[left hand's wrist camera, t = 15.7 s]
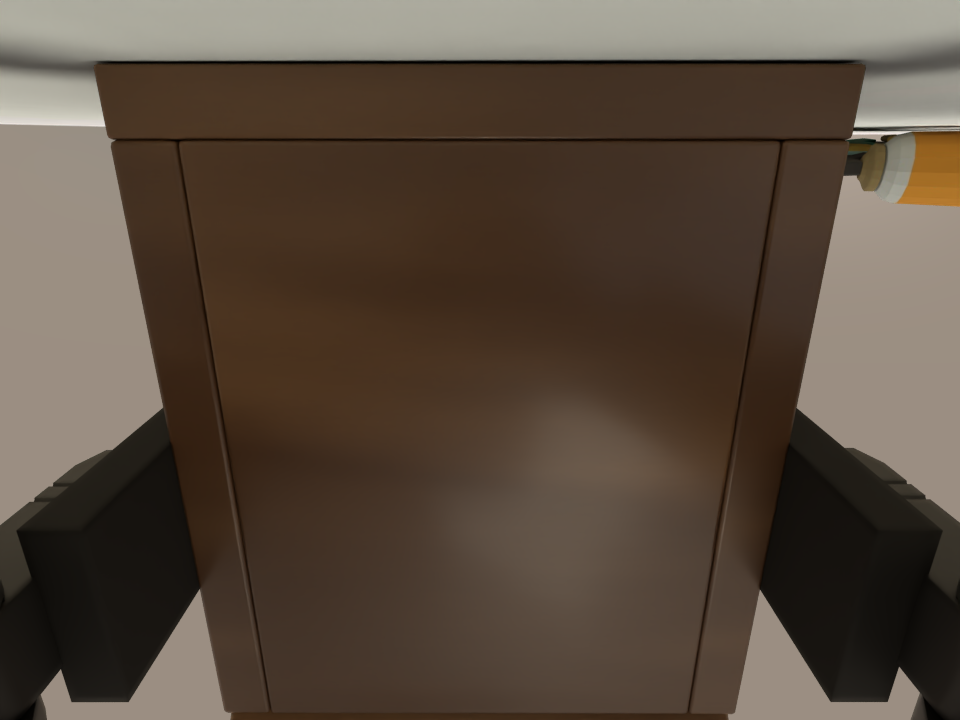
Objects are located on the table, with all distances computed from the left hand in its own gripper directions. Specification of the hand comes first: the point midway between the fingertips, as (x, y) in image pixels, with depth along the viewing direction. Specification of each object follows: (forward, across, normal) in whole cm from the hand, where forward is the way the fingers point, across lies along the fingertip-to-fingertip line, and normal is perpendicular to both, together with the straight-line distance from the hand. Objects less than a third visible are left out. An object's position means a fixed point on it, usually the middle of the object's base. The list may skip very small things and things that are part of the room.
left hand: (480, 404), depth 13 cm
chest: (+4, 0, -6) cm, 8 cm away
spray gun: (+30, -28, -6) cm, 42 cm away
